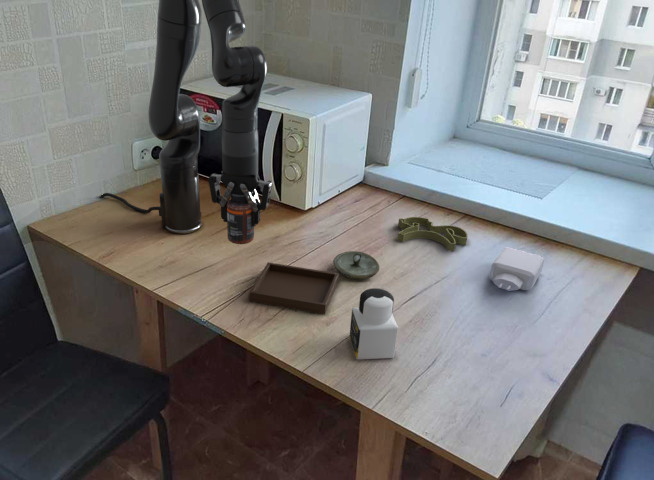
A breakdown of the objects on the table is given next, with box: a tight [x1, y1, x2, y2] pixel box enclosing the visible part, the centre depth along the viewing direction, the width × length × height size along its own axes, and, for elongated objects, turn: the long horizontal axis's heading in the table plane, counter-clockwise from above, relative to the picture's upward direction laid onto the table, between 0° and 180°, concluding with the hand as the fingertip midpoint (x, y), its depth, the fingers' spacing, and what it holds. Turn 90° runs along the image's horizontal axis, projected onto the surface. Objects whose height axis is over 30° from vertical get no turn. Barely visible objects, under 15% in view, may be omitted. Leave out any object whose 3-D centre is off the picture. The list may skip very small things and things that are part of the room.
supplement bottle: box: [226, 194, 255, 245], centre depth 134 cm, size 6×6×11 cm
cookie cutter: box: [397, 216, 468, 252], centre depth 155 cm, size 18×12×2 cm, turn 66°
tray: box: [248, 262, 340, 315], centre depth 132 cm, size 16×13×2 cm
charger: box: [488, 247, 545, 292], centre depth 135 cm, size 5×9×15 cm
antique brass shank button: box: [332, 250, 380, 280], centre depth 139 cm, size 11×10×5 cm
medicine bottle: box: [348, 287, 399, 361], centre depth 112 cm, size 7×7×12 cm
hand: (240, 222), depth 135 cm, fingers closed on supplement bottle, 6 cm apart
